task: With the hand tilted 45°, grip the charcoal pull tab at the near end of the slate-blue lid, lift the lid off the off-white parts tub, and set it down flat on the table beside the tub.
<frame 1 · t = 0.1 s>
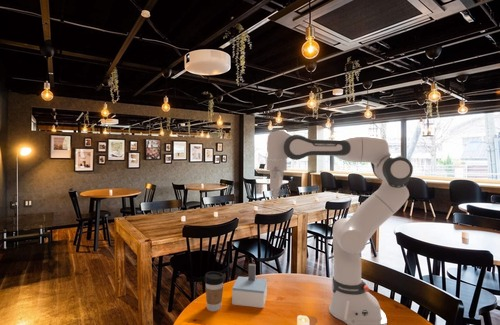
hand: (276, 197, 119), 48 cm above the table, tool pointing down, fingers open, 8 cm apart
coffee cup: (214, 309, 115), on the table
parts tub: (250, 300, 123), on the table
lid: (250, 285, 123), point 7 cm above the table, touching parts tub
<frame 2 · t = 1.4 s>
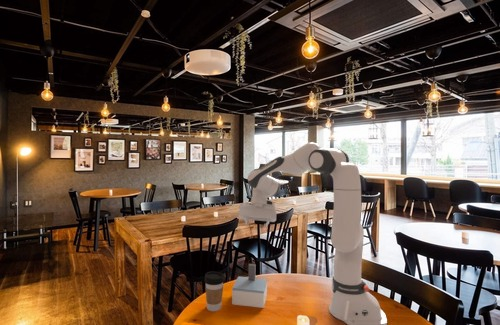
hand: (256, 226, 139), 30 cm above the table, tool tilted 45°, fingers open, 8 cm apart
nothing on the table moved.
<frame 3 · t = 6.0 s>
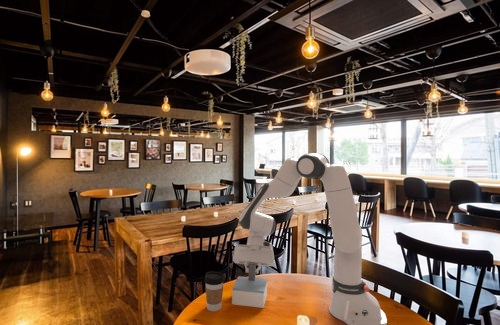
hand: (251, 272, 126), 11 cm above the table, tool tilted 45°, fingers closed on lid, 3 cm apart
lid: (250, 285, 123), point 7 cm above the table, touching gripper, parts tub
everything else where it was.
when the fingers open (7 cm above the table, at t = 12.9 s): lid drops 2 cm, point 1 cm above the table.
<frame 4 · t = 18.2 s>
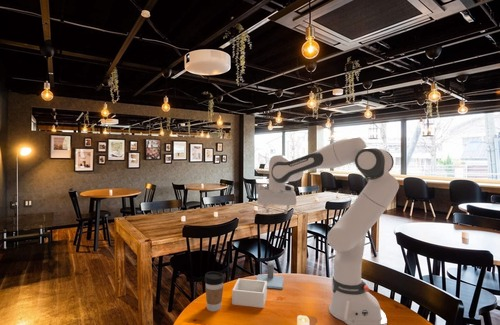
hand: (276, 213, 139), 37 cm above the table, tool pointing down, fingers open, 8 cm apart
lid: (269, 282, 139), point 1 cm above the table
everything else where it was.
at the end: lid inside the target area (1.1 cm from its centre), point 1.0 cm above the table; lid touching table; lid tilted 0° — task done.
